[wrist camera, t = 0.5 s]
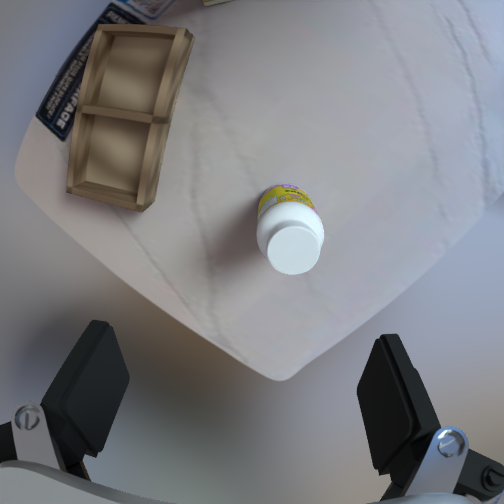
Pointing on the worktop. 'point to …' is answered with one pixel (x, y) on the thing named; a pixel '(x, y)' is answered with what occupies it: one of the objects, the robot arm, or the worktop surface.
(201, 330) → the worktop surface
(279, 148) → the worktop surface
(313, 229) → the supplement bottle
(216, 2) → the skincare box
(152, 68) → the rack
